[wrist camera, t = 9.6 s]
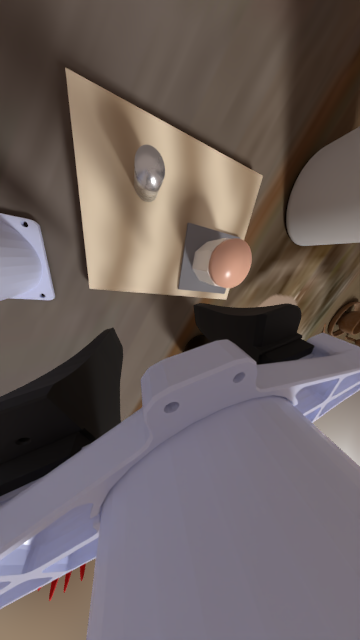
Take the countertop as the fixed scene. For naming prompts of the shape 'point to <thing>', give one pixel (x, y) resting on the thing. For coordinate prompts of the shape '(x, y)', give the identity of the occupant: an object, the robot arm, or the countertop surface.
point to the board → (137, 215)
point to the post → (148, 172)
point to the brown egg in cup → (223, 262)
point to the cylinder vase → (328, 196)
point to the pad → (193, 242)
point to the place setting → (346, 322)
